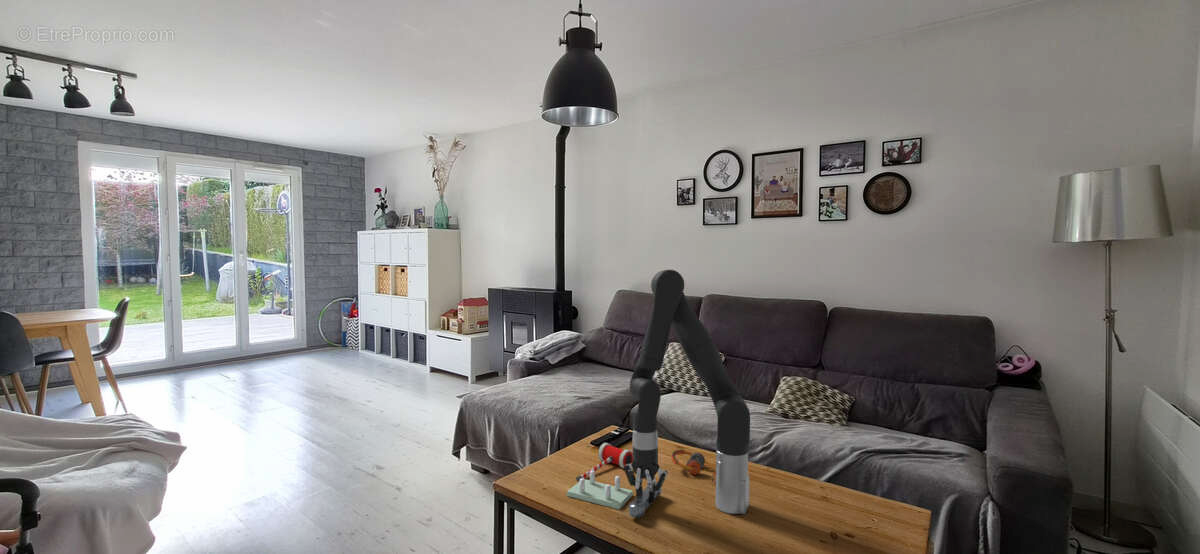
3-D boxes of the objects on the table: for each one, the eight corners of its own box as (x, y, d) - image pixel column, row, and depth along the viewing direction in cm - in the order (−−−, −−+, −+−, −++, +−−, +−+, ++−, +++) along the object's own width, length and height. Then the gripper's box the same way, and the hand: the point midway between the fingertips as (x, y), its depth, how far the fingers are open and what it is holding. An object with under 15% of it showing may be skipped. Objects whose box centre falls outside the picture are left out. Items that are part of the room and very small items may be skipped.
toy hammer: (591, 488, 166) (591, 469, 166) (565, 477, 174) (565, 459, 173) (634, 465, 183) (634, 448, 183) (608, 457, 191) (608, 440, 191)
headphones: (730, 472, 183) (676, 452, 190) (733, 459, 182) (679, 438, 189) (722, 493, 167) (664, 470, 174) (726, 478, 166) (668, 456, 174)
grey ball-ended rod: (650, 488, 162) (650, 480, 162) (663, 491, 160) (663, 483, 160) (626, 515, 146) (626, 506, 145) (640, 518, 144) (640, 509, 143)
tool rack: (632, 495, 160) (632, 477, 160) (619, 509, 152) (619, 491, 151) (582, 483, 169) (582, 466, 169) (567, 496, 160) (566, 478, 160)
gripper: (672, 443, 152) (672, 500, 153) (628, 436, 158) (629, 491, 159) (663, 452, 145) (663, 512, 146) (618, 444, 152) (619, 501, 153)
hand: (645, 500), depth 153 cm, fingers closed on grey ball-ended rod, 3 cm apart
